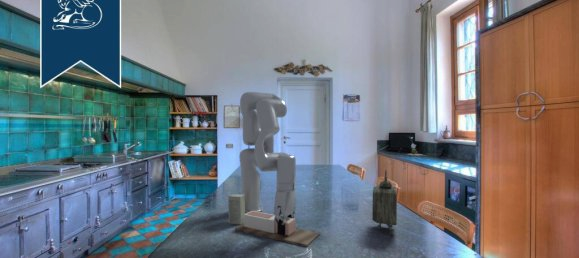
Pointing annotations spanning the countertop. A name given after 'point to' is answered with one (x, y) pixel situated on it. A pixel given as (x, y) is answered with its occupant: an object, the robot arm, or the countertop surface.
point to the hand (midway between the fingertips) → (285, 230)
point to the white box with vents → (260, 221)
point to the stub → (288, 225)
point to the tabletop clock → (385, 204)
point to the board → (296, 237)
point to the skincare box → (236, 208)
